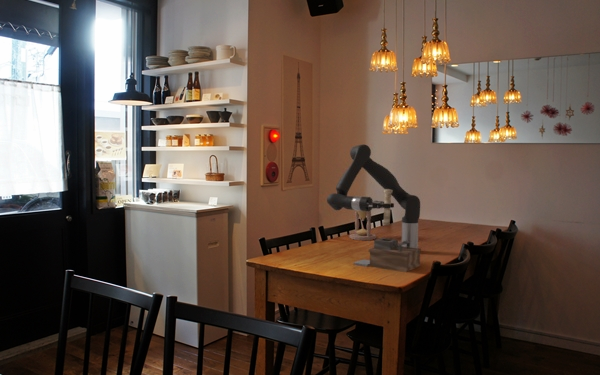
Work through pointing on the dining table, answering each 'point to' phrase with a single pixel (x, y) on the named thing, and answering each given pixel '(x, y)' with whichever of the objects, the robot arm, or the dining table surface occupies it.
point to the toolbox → (394, 255)
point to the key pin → (387, 210)
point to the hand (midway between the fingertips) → (391, 205)
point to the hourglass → (362, 233)
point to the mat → (362, 263)
